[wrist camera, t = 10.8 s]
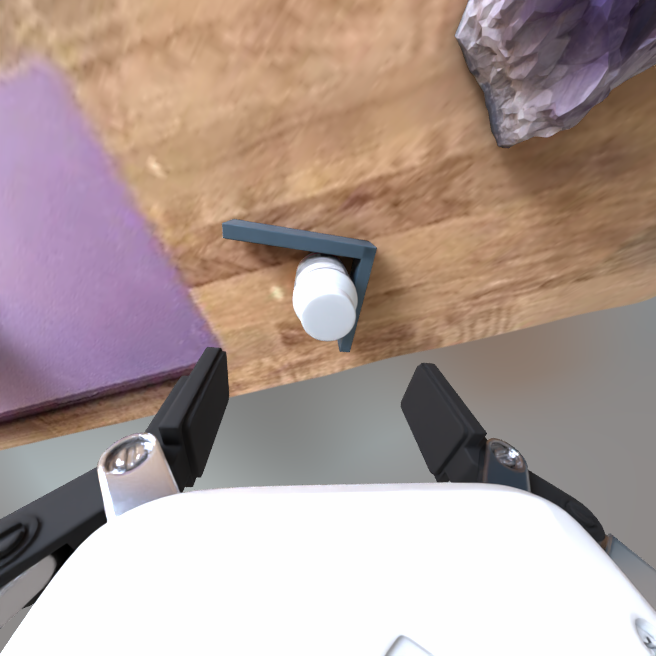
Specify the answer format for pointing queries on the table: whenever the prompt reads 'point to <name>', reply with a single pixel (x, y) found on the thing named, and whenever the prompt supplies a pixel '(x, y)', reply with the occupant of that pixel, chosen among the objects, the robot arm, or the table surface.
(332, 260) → the pill bottle
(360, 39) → the table surface
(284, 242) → the corner
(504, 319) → the table surface
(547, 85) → the geode
